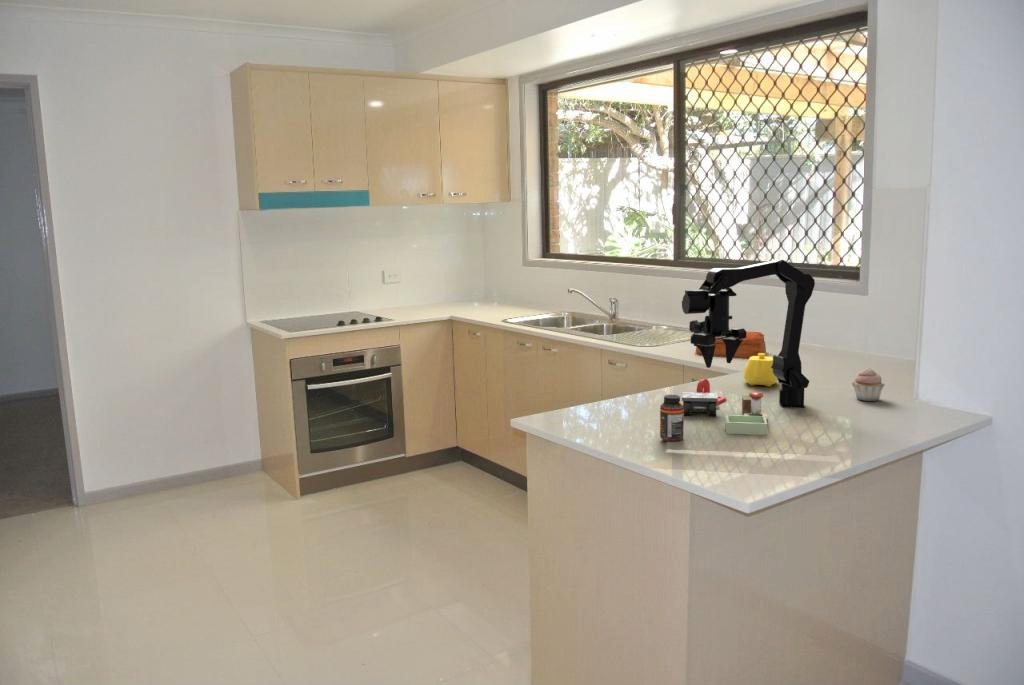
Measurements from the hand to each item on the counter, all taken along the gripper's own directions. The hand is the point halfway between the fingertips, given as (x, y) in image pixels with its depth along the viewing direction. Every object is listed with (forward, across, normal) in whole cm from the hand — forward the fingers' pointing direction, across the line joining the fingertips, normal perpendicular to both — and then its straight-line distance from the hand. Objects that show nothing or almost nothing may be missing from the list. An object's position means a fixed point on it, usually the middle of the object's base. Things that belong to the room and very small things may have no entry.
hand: (718, 365), depth 236 cm
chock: (+14, -2, +9) cm, 17 cm away
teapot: (+14, -37, -12) cm, 42 cm away
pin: (+13, +5, +16) cm, 22 cm away
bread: (+14, -74, -52) cm, 92 cm away
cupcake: (+14, -44, +22) cm, 51 cm away
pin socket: (+13, +5, +16) cm, 22 cm away
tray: (+13, +13, +19) cm, 26 cm away
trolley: (+13, +7, -1) cm, 15 cm away
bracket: (+14, -6, -7) cm, 16 cm away
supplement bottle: (+13, +33, +11) cm, 38 cm away
